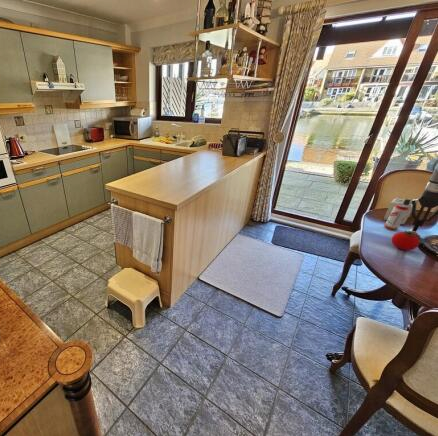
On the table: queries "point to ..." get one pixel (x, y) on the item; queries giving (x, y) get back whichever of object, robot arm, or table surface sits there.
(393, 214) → the beer can
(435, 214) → the robot arm
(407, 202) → the slider
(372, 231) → the table surface
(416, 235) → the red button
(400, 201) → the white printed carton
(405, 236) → the tomato
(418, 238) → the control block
